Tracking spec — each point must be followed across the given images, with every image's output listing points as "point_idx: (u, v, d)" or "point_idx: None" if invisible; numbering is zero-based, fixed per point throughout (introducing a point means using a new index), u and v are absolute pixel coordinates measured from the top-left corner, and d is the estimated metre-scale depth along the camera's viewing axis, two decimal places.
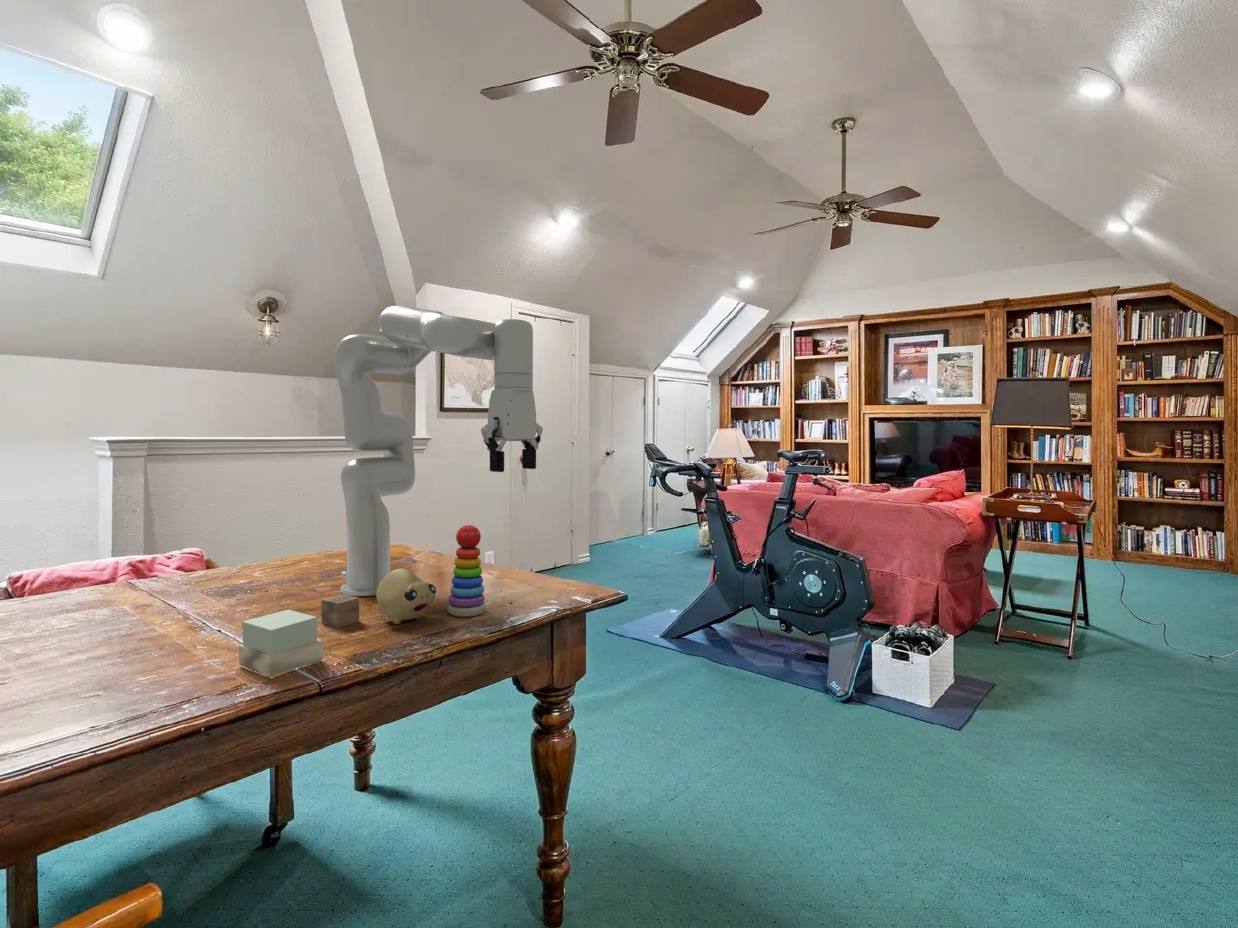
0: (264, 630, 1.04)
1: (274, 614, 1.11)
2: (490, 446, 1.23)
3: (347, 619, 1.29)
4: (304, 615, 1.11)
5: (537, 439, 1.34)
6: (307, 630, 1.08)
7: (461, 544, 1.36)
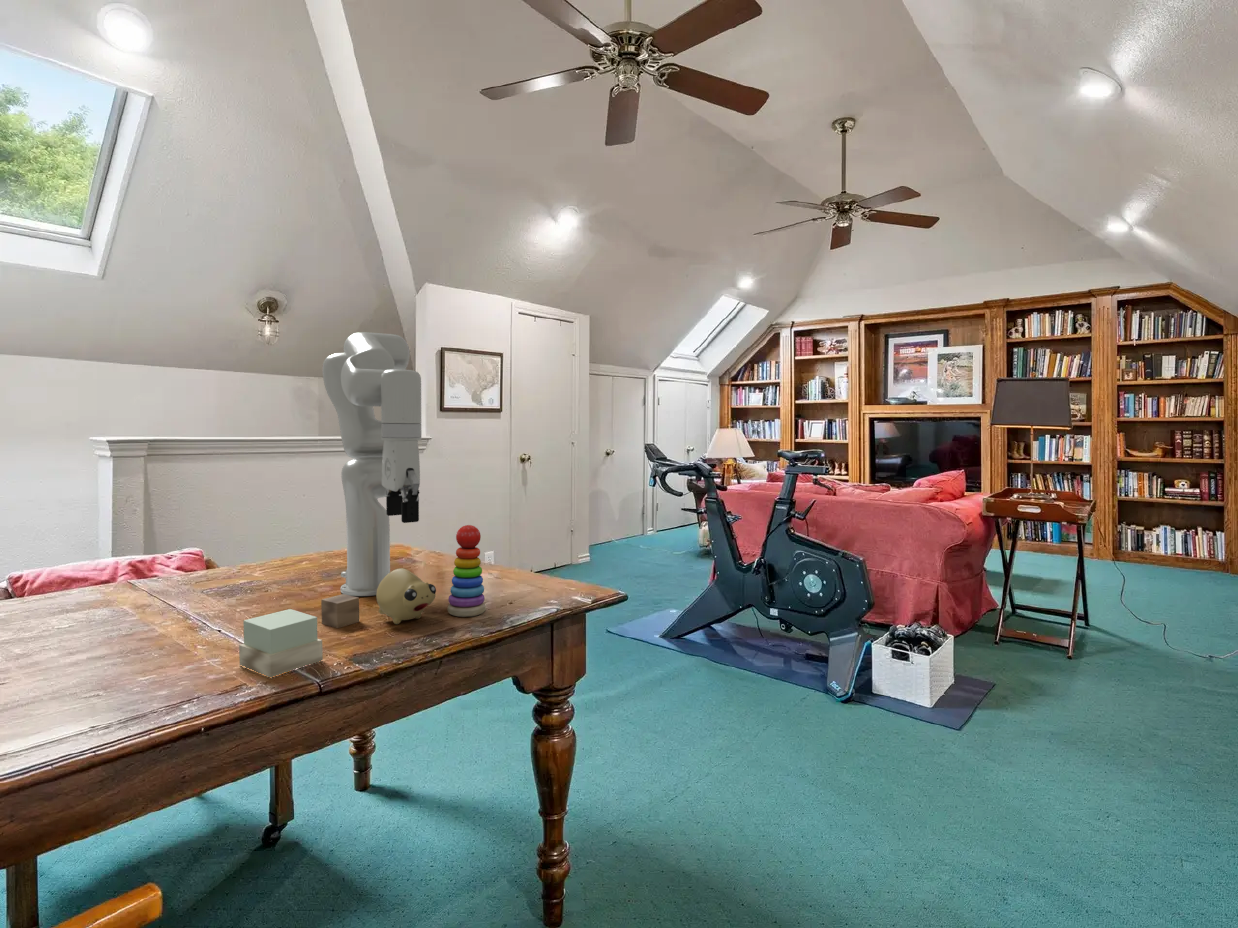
0: (264, 629, 1.04)
1: (276, 613, 1.11)
2: (413, 498, 1.24)
3: (347, 619, 1.29)
4: (305, 615, 1.11)
5: None
6: (307, 630, 1.08)
7: (461, 544, 1.36)
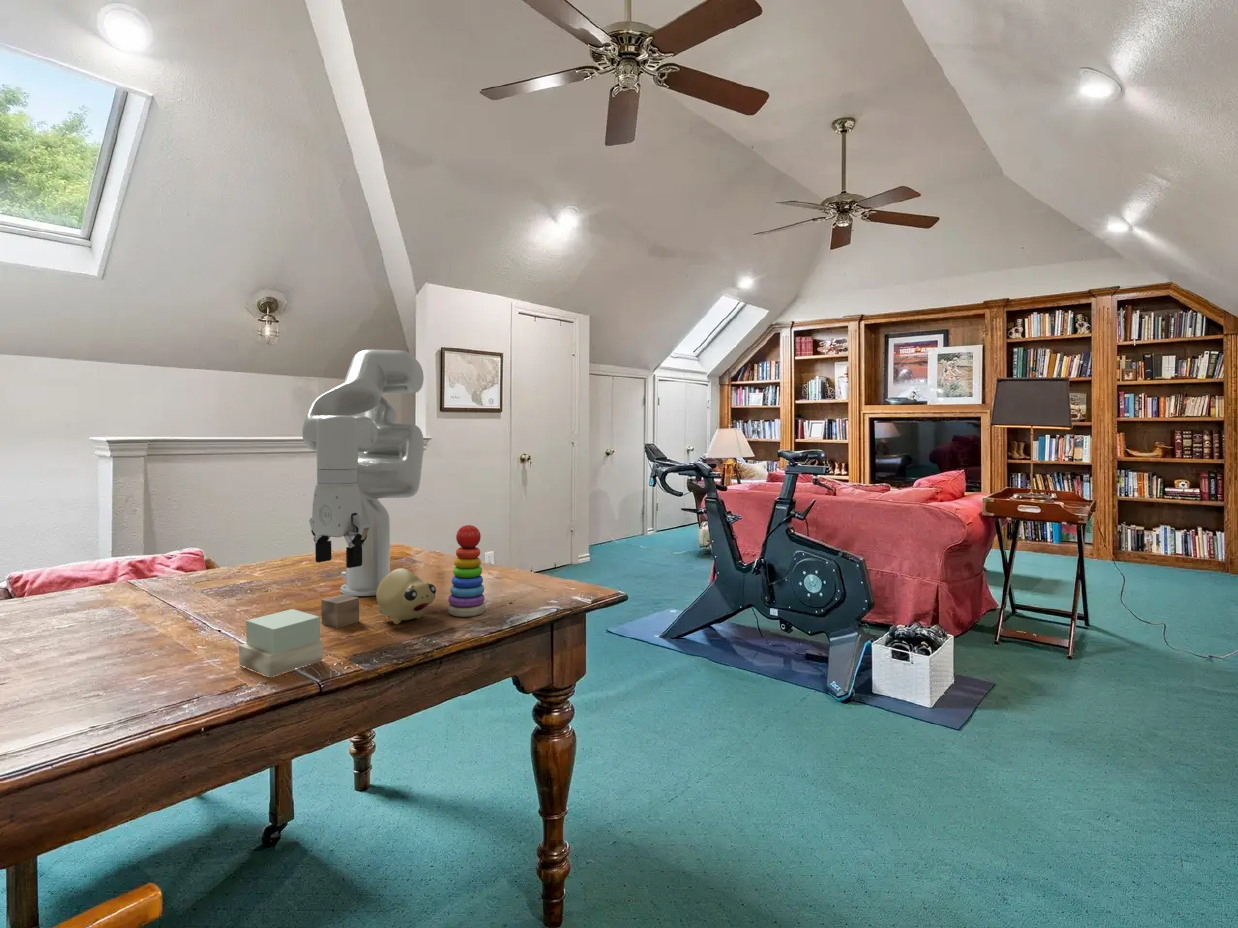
0: (267, 629, 1.04)
1: (278, 613, 1.11)
2: (360, 542, 1.26)
3: (347, 619, 1.29)
4: (307, 615, 1.11)
5: None
6: (309, 630, 1.09)
7: (461, 544, 1.36)
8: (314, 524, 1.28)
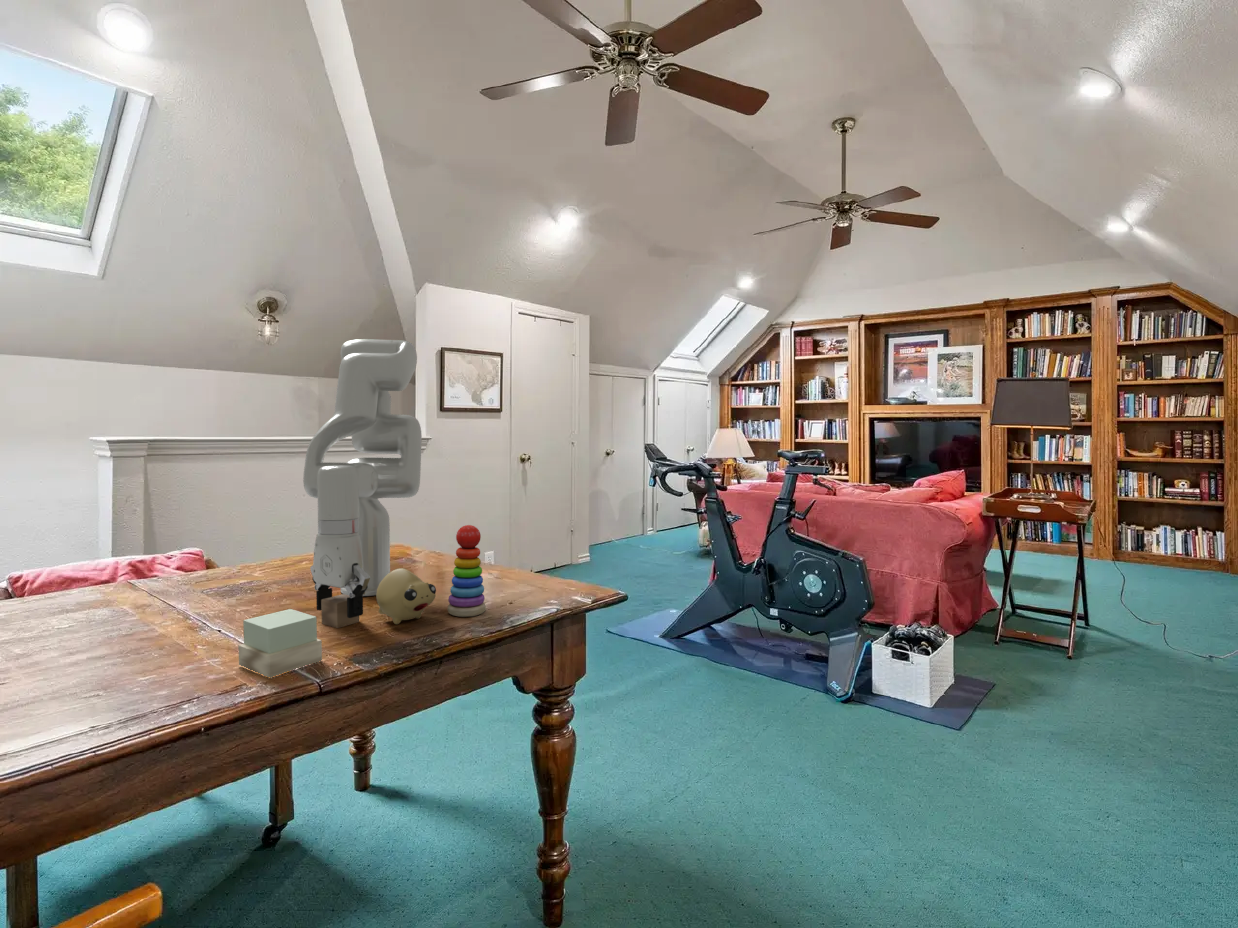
0: (263, 629, 1.04)
1: (276, 613, 1.11)
2: (361, 592, 1.26)
3: (347, 619, 1.29)
4: (304, 615, 1.11)
5: None
6: (306, 630, 1.08)
7: (461, 544, 1.36)
8: (315, 573, 1.29)
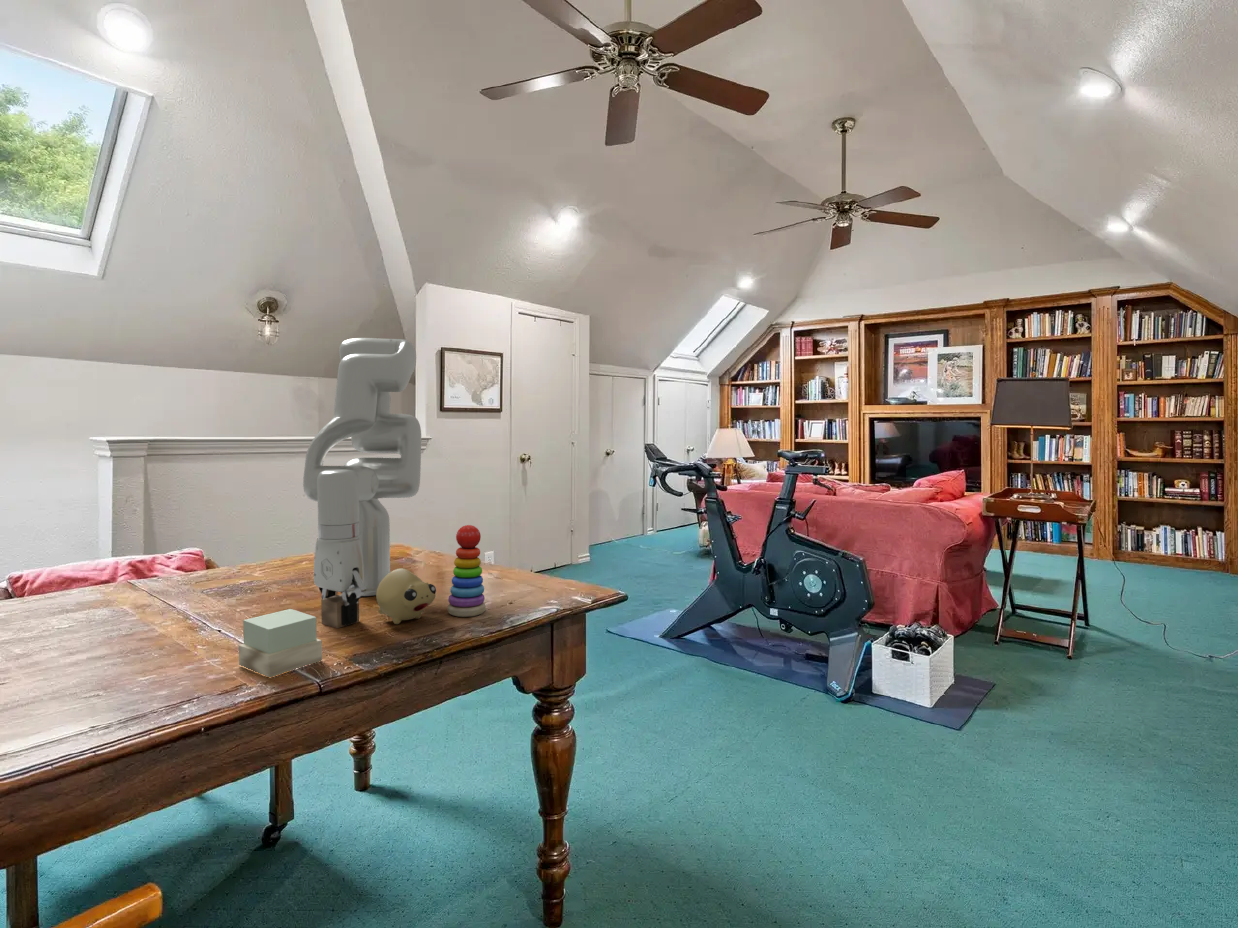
0: (262, 629, 1.04)
1: (275, 613, 1.11)
2: (355, 600, 1.28)
3: None
4: (304, 615, 1.11)
5: None
6: (305, 630, 1.08)
7: (461, 544, 1.36)
8: (316, 577, 1.30)
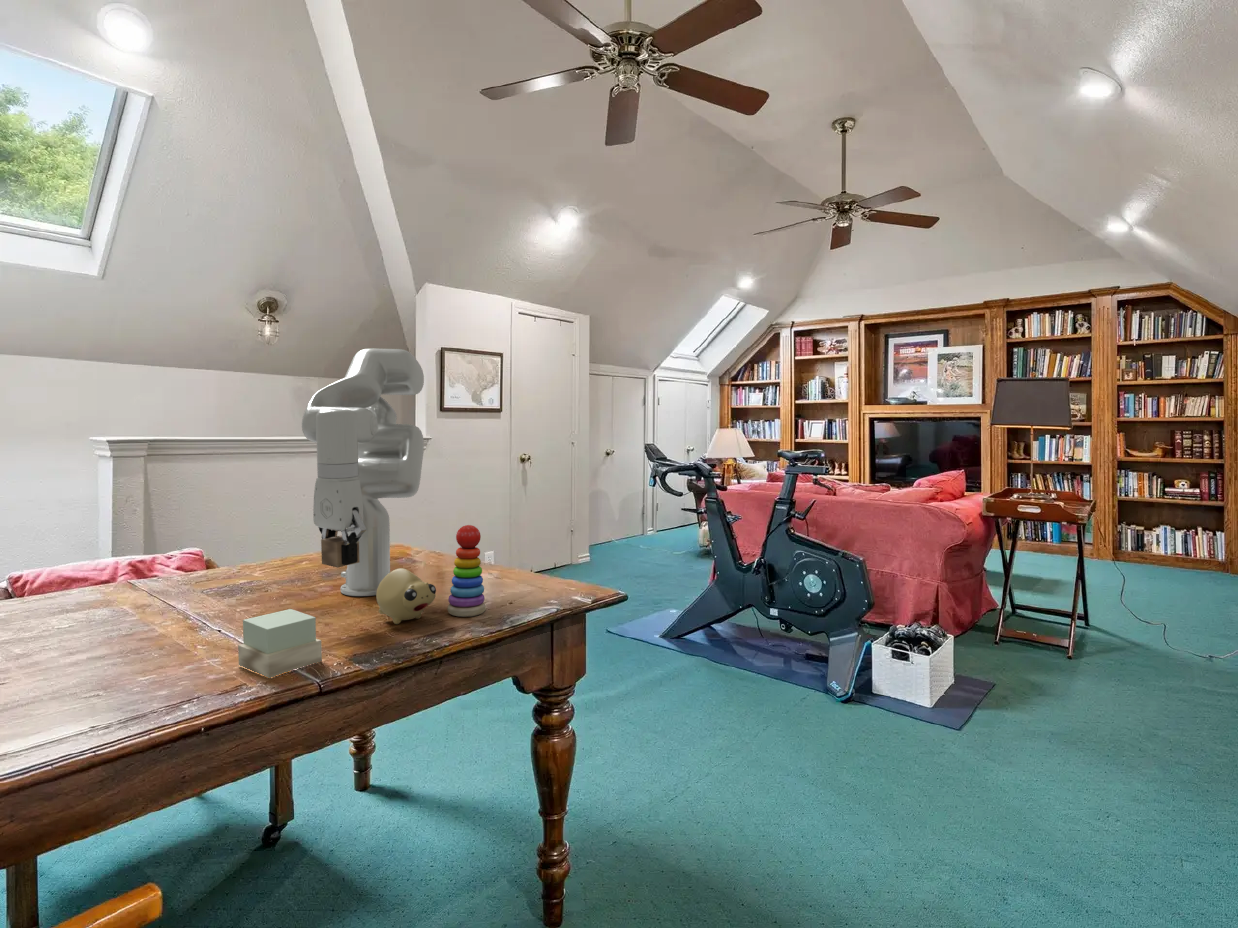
0: (261, 629, 1.04)
1: (275, 613, 1.11)
2: (355, 540, 1.28)
3: None
4: (304, 615, 1.11)
5: None
6: (305, 630, 1.08)
7: (461, 544, 1.36)
8: (315, 517, 1.29)
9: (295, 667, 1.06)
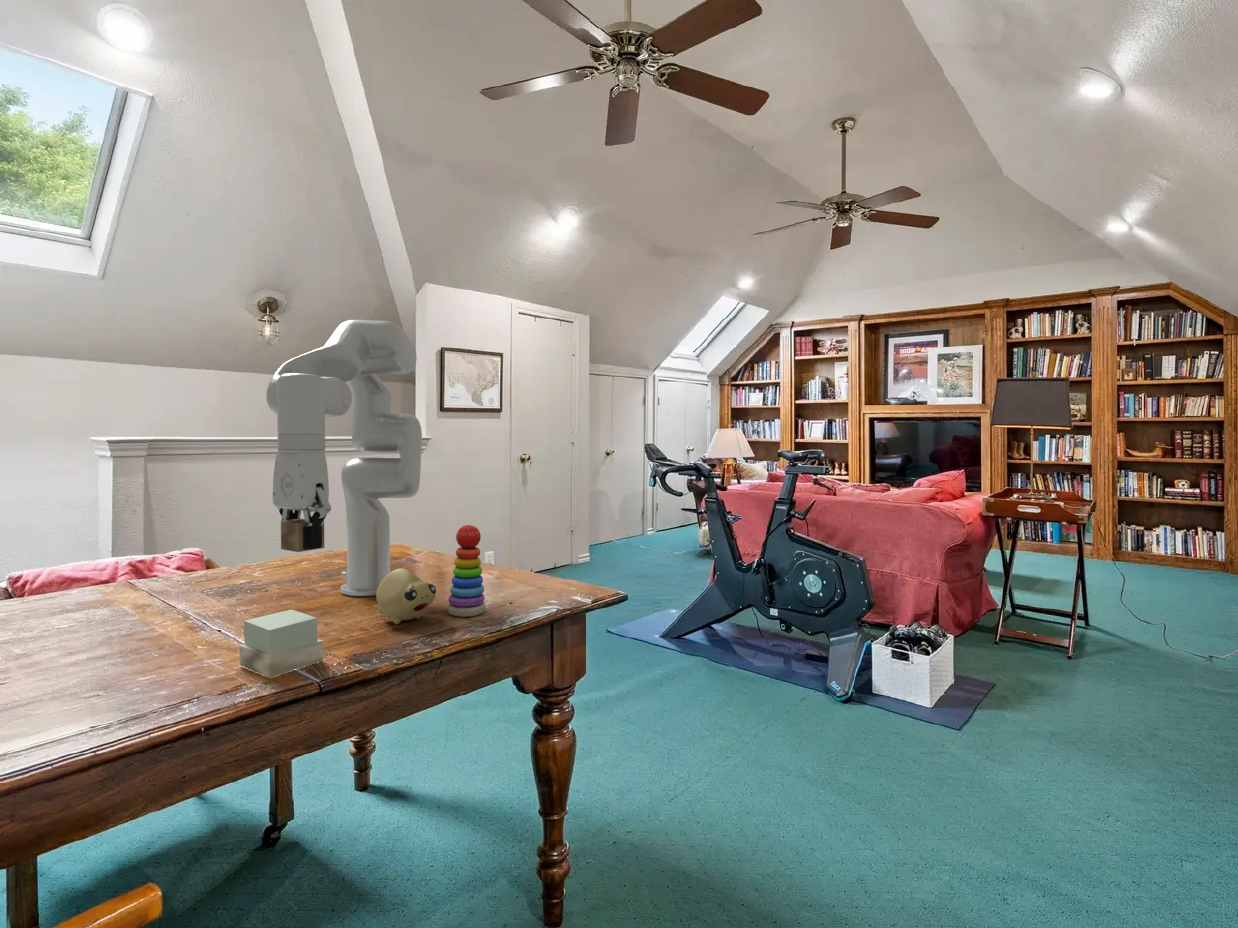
0: (263, 629, 1.04)
1: (276, 614, 1.11)
2: (319, 521, 1.13)
3: None
4: (305, 615, 1.10)
5: None
6: (306, 631, 1.08)
7: (461, 544, 1.36)
8: (275, 496, 1.14)
9: (296, 667, 1.06)
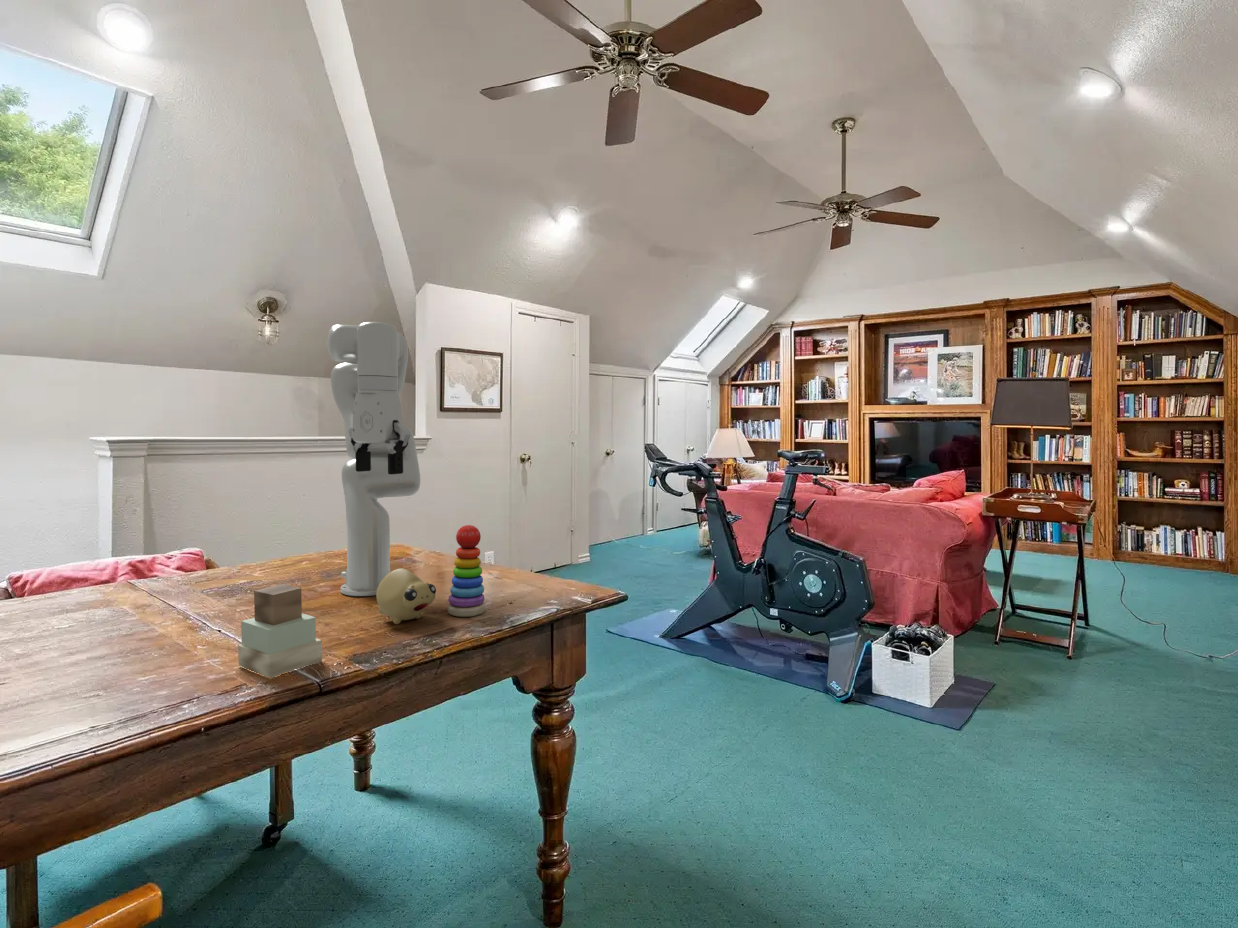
0: (262, 629, 1.04)
1: None
2: (401, 449, 1.26)
3: (286, 614, 1.07)
4: (303, 615, 1.10)
5: None
6: (305, 630, 1.08)
7: (461, 544, 1.36)
8: (355, 432, 1.29)
9: (296, 667, 1.06)
